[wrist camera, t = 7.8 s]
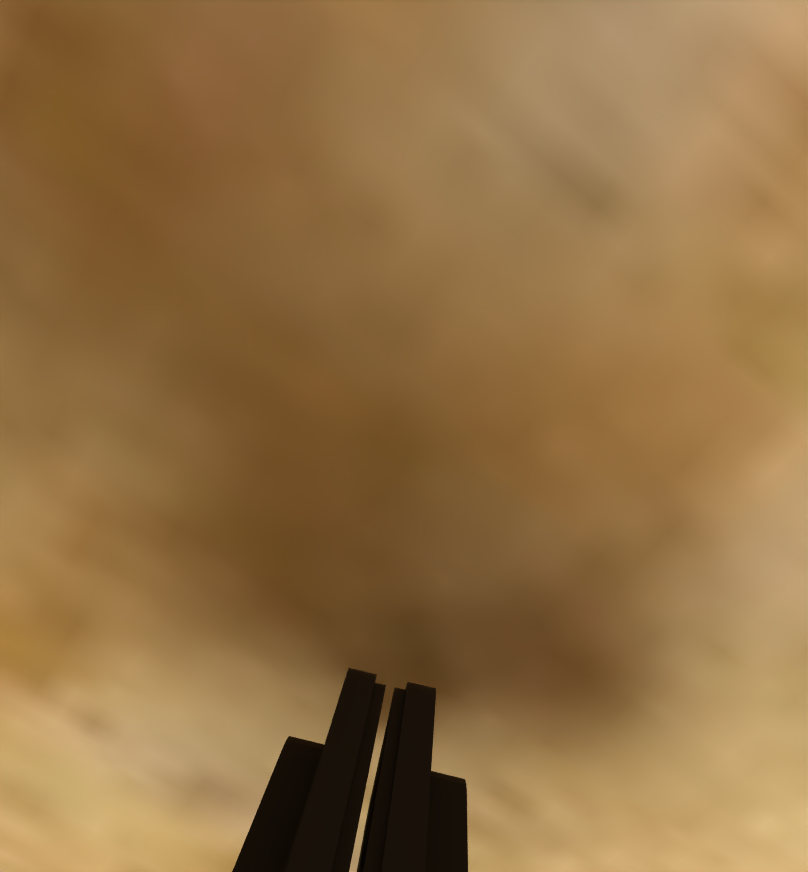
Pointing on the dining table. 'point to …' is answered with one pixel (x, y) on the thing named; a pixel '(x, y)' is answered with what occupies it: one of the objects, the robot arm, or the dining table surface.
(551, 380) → the dining table surface
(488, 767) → the dining table surface
